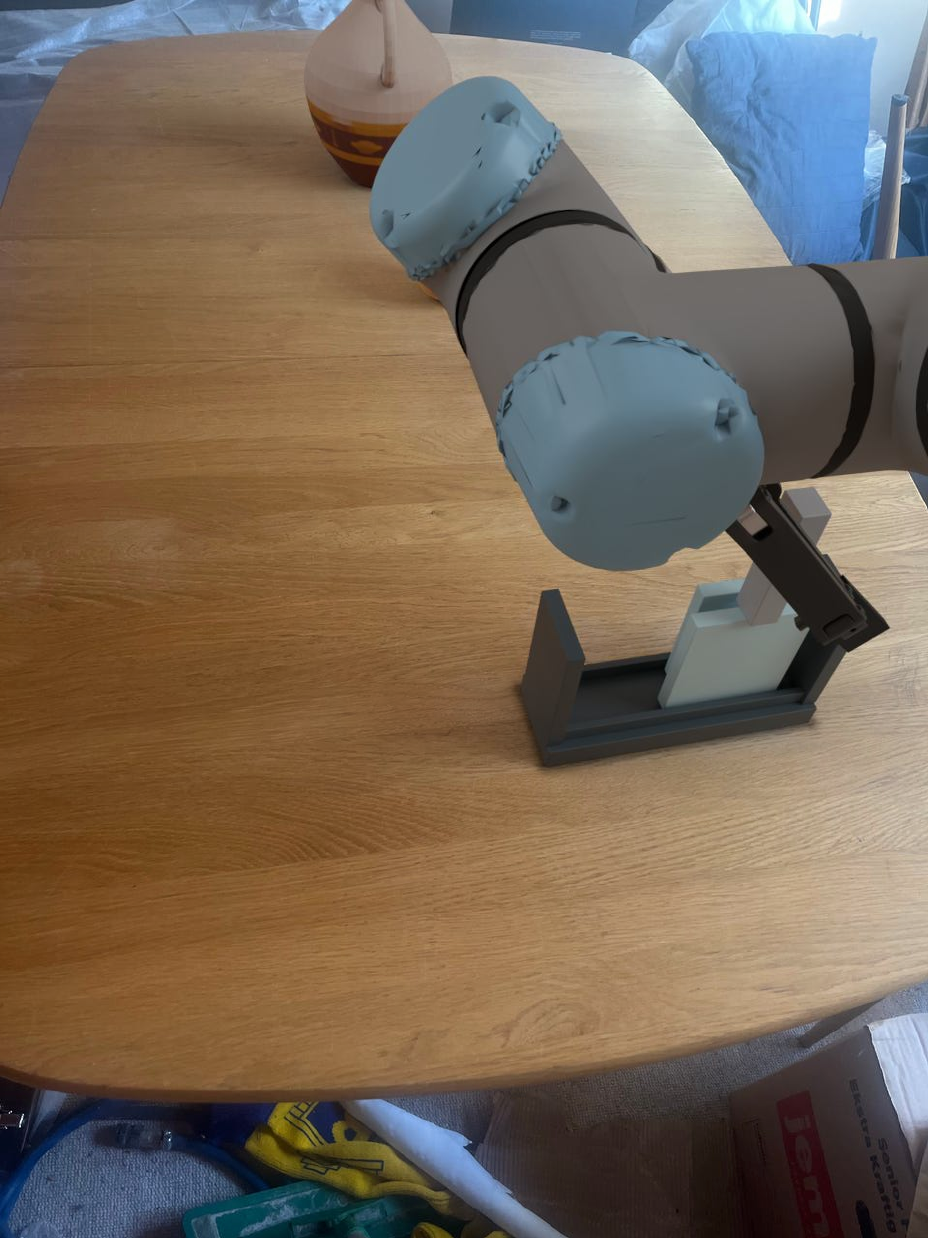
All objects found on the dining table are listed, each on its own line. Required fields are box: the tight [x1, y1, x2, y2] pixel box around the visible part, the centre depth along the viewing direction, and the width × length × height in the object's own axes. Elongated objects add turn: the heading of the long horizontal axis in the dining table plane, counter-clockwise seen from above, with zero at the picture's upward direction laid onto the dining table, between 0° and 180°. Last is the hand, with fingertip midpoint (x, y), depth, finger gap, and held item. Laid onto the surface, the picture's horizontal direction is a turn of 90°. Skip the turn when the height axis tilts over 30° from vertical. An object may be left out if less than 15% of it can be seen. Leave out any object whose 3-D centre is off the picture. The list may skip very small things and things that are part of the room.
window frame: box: [519, 553, 848, 768], centre depth 69 cm, size 7×21×12 cm, turn 103°
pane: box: [658, 486, 833, 709], centre depth 64 cm, size 2×9×20 cm, turn 103°
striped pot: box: [303, 0, 454, 189], centre depth 112 cm, size 20×18×30 cm
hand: (813, 552), depth 60 cm, fingers open, 13 cm apart
